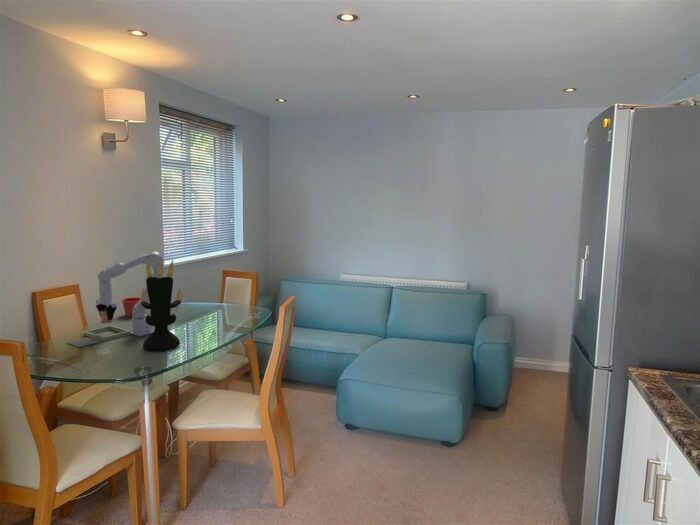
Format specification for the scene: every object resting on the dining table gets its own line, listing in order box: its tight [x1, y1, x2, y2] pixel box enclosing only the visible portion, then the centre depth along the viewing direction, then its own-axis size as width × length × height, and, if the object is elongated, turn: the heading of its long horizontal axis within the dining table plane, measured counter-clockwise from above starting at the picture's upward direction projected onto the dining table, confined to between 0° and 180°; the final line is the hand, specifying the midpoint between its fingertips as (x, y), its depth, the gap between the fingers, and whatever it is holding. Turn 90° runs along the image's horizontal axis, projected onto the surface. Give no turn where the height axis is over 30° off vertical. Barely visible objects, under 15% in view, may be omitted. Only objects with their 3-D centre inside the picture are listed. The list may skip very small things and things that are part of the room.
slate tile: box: [66, 336, 102, 349], centre depth 238 cm, size 11×11×1 cm
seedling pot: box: [99, 310, 113, 324], centre depth 250 cm, size 6×6×6 cm
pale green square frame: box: [83, 325, 132, 342], centre depth 251 cm, size 17×15×2 cm
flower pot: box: [122, 296, 141, 317], centre depth 291 cm, size 11×11×10 cm
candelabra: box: [140, 259, 183, 353], centre depth 230 cm, size 19×22×45 cm
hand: (106, 318), depth 250 cm, fingers closed on seedling pot, 6 cm apart
